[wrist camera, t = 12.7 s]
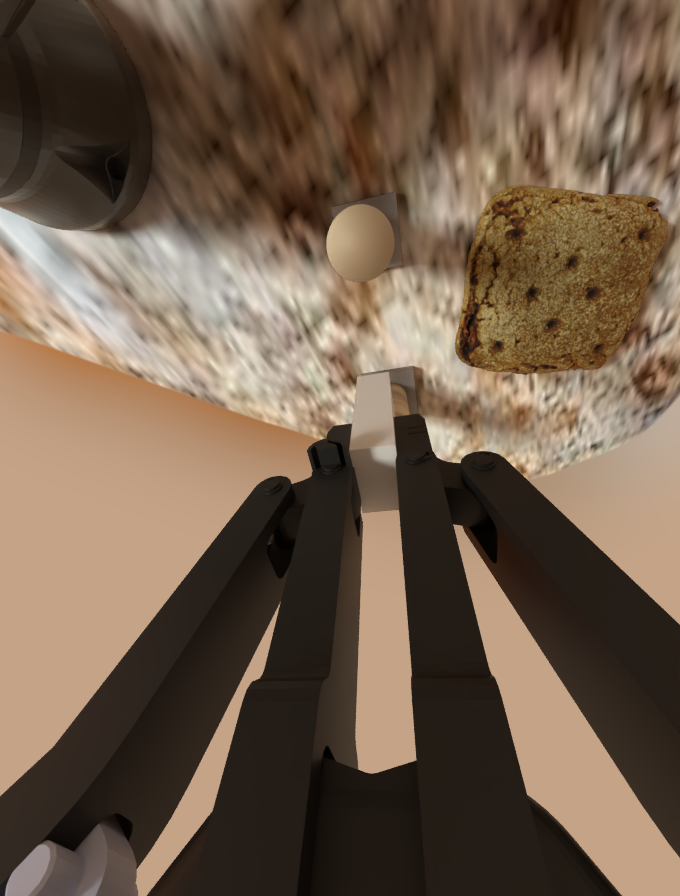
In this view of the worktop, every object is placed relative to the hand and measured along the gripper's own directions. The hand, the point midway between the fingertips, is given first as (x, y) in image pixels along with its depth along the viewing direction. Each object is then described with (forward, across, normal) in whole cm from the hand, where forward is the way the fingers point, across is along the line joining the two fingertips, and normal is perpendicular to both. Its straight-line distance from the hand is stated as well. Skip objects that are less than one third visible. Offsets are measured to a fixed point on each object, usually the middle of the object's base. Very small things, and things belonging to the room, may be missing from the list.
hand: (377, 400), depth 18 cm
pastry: (+19, +14, 0) cm, 24 cm away
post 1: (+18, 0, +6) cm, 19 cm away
